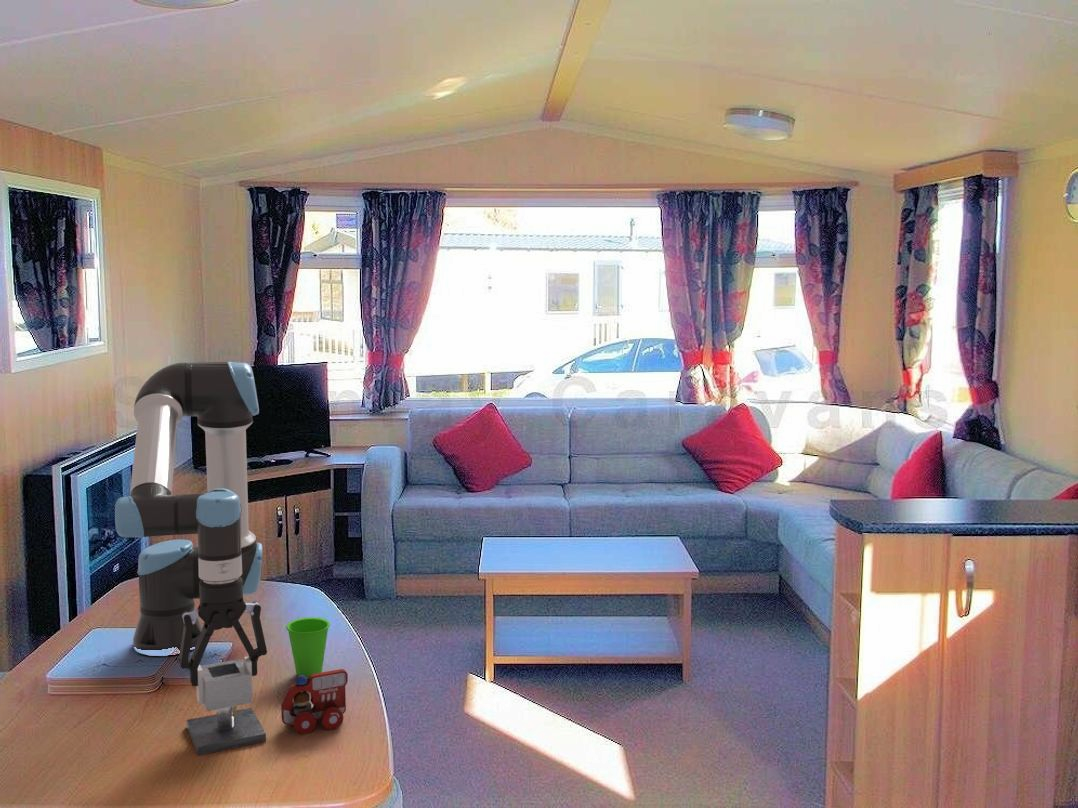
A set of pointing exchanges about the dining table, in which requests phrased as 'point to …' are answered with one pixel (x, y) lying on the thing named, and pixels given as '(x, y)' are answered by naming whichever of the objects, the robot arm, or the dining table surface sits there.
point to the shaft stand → (225, 730)
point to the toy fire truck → (316, 701)
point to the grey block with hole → (226, 685)
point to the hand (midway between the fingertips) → (224, 696)
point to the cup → (308, 644)
